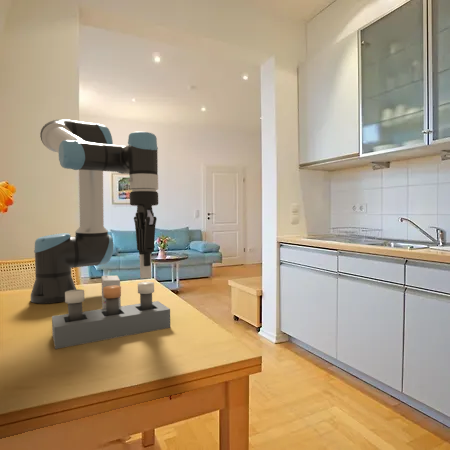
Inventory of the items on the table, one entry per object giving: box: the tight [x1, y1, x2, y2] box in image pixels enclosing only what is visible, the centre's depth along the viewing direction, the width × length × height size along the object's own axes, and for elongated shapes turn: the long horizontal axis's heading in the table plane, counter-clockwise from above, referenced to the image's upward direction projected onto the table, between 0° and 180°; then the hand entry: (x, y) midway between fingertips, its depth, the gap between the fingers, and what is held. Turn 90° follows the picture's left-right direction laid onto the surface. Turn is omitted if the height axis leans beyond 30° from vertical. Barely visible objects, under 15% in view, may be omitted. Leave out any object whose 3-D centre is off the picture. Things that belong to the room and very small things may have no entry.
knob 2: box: [137, 281, 155, 311], centre depth 95 cm, size 4×4×7 cm
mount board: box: [51, 300, 171, 350], centre depth 91 cm, size 10×28×5 cm, turn 120°
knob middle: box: [103, 285, 122, 316], centre depth 91 cm, size 4×4×7 cm
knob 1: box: [64, 289, 85, 322], centre depth 86 cm, size 4×4×7 cm
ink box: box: [101, 274, 122, 309], centre depth 104 cm, size 8×5×12 cm, turn 23°
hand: (145, 277), depth 95 cm, fingers closed
